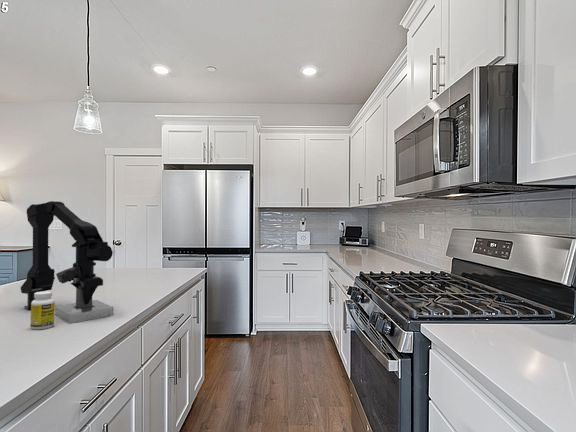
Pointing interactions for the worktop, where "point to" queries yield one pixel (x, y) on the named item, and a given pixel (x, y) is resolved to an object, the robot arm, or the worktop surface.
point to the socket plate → (83, 312)
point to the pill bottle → (42, 310)
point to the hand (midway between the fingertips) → (84, 303)
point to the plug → (81, 300)
